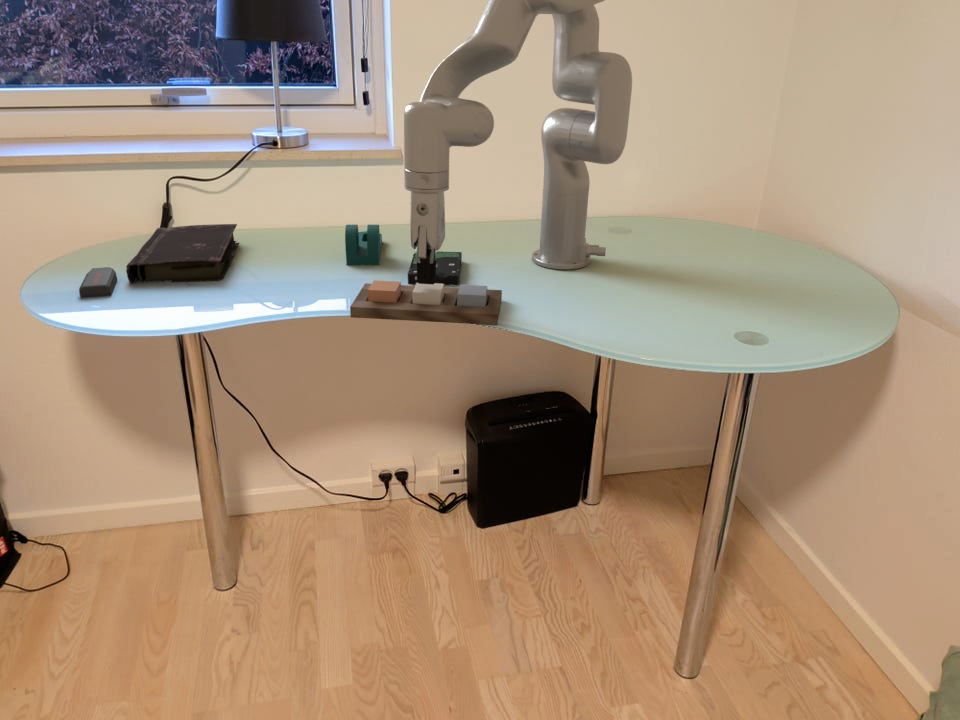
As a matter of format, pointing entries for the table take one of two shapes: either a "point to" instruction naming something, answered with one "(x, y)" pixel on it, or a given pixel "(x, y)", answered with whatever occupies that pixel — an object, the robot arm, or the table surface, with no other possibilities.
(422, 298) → the white button
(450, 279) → the disk drive
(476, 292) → the slate button
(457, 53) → the robot arm
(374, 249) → the bracket
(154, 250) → the diary
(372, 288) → the terracotta button
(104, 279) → the dark grey block
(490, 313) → the panel
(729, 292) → the table surface
